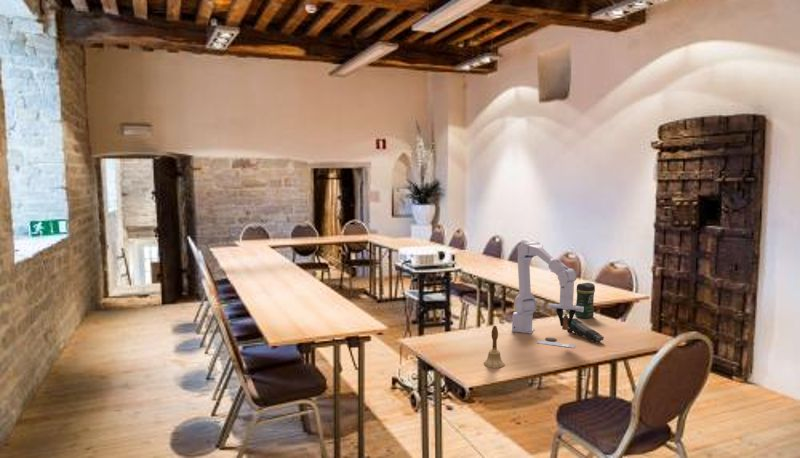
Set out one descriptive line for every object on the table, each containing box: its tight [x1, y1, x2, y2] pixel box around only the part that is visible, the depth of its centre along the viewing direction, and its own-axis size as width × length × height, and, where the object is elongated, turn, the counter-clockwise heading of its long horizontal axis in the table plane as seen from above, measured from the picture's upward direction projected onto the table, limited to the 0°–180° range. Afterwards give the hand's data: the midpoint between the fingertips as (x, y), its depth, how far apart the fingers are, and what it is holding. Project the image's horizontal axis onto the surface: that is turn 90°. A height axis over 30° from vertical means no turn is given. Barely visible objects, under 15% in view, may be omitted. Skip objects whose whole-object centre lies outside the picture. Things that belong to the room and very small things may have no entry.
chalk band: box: [536, 340, 576, 349], centre depth 238 cm, size 16×4×1 cm, turn 66°
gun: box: [566, 317, 605, 344], centre depth 249 cm, size 4×20×10 cm, turn 23°
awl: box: [561, 313, 569, 331], centre depth 235 cm, size 3×3×7 cm
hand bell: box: [483, 325, 505, 369], centre depth 211 cm, size 8×8×16 cm
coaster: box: [545, 337, 558, 342], centre depth 244 cm, size 5×5×1 cm
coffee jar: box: [574, 282, 596, 319], centre depth 284 cm, size 10×8×19 cm
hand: (565, 325), depth 235 cm, fingers closed on awl, 3 cm apart
